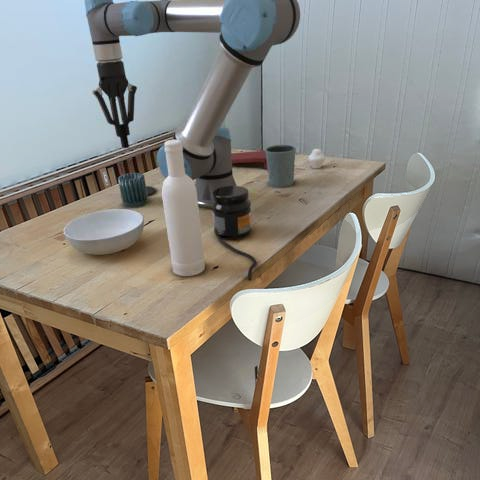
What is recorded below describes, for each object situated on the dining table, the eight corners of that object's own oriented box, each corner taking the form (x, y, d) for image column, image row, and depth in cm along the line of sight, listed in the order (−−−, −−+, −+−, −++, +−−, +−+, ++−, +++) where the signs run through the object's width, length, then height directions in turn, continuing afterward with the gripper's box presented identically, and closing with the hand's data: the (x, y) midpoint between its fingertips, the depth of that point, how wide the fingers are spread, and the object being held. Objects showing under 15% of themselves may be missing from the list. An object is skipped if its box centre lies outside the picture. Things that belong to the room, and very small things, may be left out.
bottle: (173, 263, 121) (155, 138, 105) (204, 260, 121) (191, 135, 105) (172, 278, 114) (152, 147, 98) (205, 275, 115) (191, 144, 98)
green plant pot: (301, 183, 168) (301, 148, 161) (278, 190, 163) (277, 153, 157) (283, 177, 175) (282, 142, 168) (260, 183, 171) (259, 148, 164)
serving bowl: (82, 233, 141) (77, 210, 137) (153, 230, 140) (150, 207, 136) (58, 265, 124) (51, 240, 120) (139, 262, 123) (134, 237, 119)
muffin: (306, 165, 185) (307, 147, 182) (322, 164, 186) (323, 145, 182) (310, 170, 180) (310, 151, 176) (326, 169, 181) (327, 149, 177)
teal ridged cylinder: (118, 203, 162) (141, 197, 165) (129, 209, 156) (152, 203, 160) (113, 176, 157) (136, 170, 161) (124, 181, 151) (148, 175, 155)
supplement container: (260, 232, 135) (258, 189, 128) (233, 244, 129) (230, 200, 122) (233, 223, 141) (230, 182, 134) (206, 234, 135) (202, 192, 128)
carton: (212, 173, 195) (266, 170, 182) (210, 161, 193) (264, 157, 180) (228, 165, 204) (281, 161, 191) (226, 153, 202) (279, 149, 189)
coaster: (160, 193, 167) (159, 192, 167) (130, 200, 163) (129, 198, 163) (149, 185, 175) (149, 184, 175) (120, 191, 171) (120, 190, 171)
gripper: (127, 58, 142) (141, 141, 155) (83, 62, 137) (101, 148, 150) (135, 59, 137) (149, 145, 150) (90, 64, 132) (108, 153, 145)
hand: (125, 147), depth 150 cm, fingers closed
